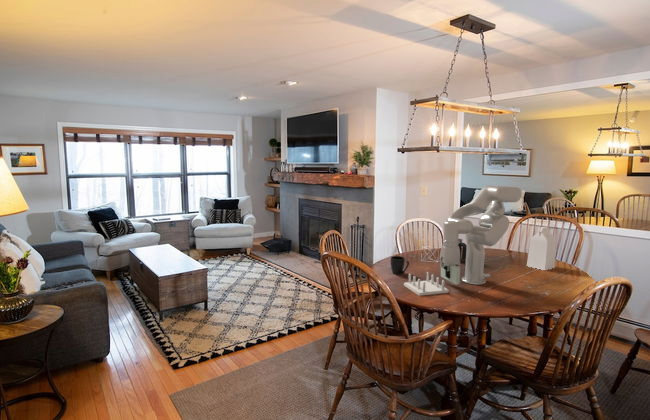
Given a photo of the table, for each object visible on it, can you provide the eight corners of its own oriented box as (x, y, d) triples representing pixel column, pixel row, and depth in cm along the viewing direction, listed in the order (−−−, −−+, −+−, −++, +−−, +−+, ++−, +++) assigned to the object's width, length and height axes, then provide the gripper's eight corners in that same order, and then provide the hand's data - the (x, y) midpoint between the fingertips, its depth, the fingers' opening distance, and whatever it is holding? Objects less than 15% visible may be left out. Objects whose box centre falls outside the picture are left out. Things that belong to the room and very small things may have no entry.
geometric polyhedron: (421, 257, 263) (421, 244, 262) (437, 258, 261) (438, 245, 259) (421, 262, 251) (421, 249, 250) (438, 263, 249) (439, 250, 247)
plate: (440, 276, 210) (441, 260, 209) (443, 275, 211) (444, 260, 210) (456, 284, 197) (456, 268, 196) (459, 284, 198) (459, 267, 196)
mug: (403, 277, 218) (403, 261, 217) (387, 272, 227) (387, 257, 226) (412, 275, 223) (412, 259, 222) (396, 270, 233) (396, 255, 231)
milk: (536, 263, 251) (540, 224, 248) (554, 267, 242) (558, 227, 238) (526, 266, 245) (529, 226, 241) (544, 270, 235) (548, 229, 232)
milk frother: (444, 260, 256) (445, 239, 254) (454, 256, 268) (455, 235, 266) (465, 264, 247) (466, 242, 245) (474, 260, 258) (476, 238, 256)
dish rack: (431, 282, 210) (431, 271, 209) (448, 292, 195) (449, 280, 194) (403, 285, 205) (404, 273, 204) (419, 295, 190) (419, 283, 189)
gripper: (459, 240, 207) (458, 273, 210) (433, 243, 202) (433, 276, 205) (468, 244, 200) (466, 277, 202) (441, 247, 195) (441, 281, 198)
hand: (449, 277), depth 204 cm, fingers closed on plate, 2 cm apart
